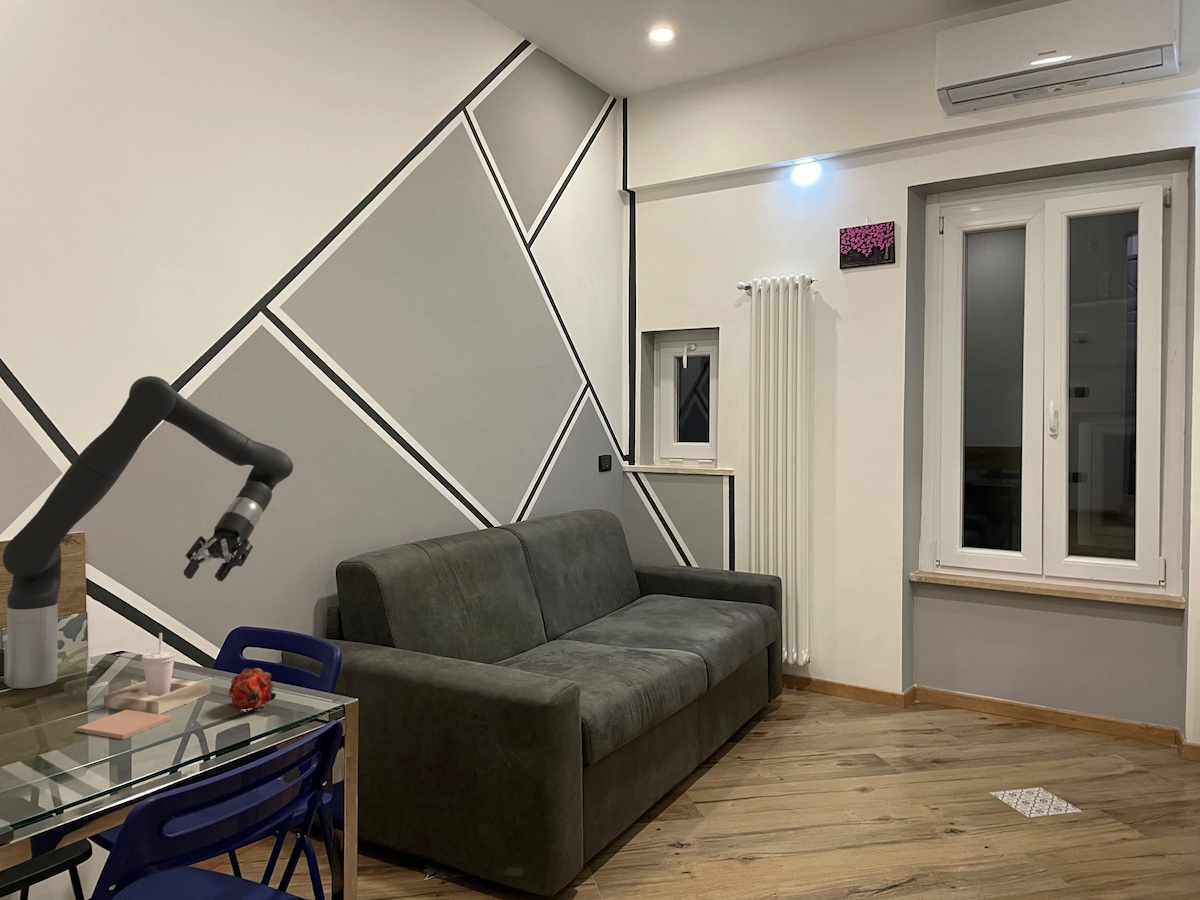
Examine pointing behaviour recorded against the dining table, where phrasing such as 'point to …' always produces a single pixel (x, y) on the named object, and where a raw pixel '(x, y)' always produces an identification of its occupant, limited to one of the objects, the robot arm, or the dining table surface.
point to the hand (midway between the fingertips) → (202, 577)
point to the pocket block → (142, 702)
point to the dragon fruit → (251, 689)
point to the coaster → (124, 724)
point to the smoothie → (158, 670)
